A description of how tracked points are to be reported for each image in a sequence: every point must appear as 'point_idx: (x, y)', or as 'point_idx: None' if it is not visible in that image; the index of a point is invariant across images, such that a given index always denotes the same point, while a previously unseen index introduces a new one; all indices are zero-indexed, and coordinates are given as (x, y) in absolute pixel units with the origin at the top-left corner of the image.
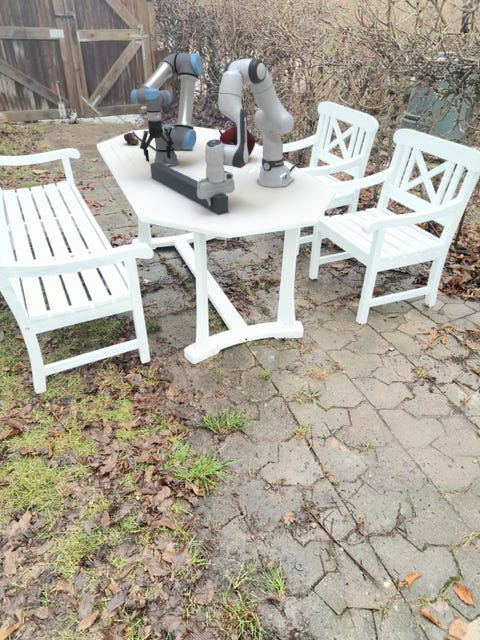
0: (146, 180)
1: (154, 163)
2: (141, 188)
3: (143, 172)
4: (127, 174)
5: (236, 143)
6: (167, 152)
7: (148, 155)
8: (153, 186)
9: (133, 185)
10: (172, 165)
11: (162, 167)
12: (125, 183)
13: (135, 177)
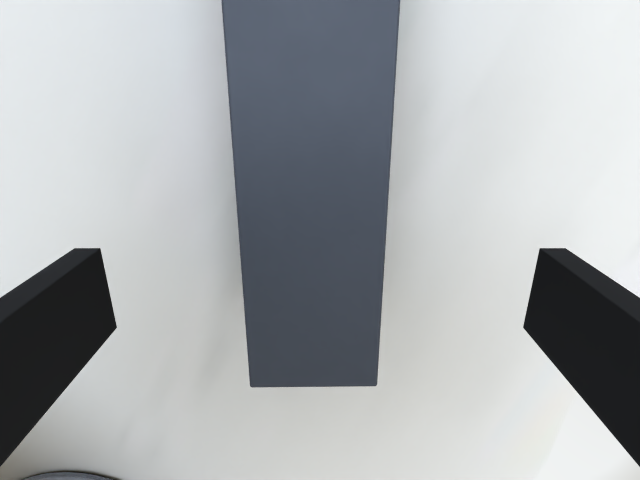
0: (438, 257)
1: (323, 370)
2: (630, 46)
3: (341, 453)
4: (468, 472)
5: None
6: (52, 367)
7: (630, 310)
8: (496, 26)
9: (619, 192)
10: (56, 474)
11: (324, 124)
12: (628, 288)
13: (464, 381)
